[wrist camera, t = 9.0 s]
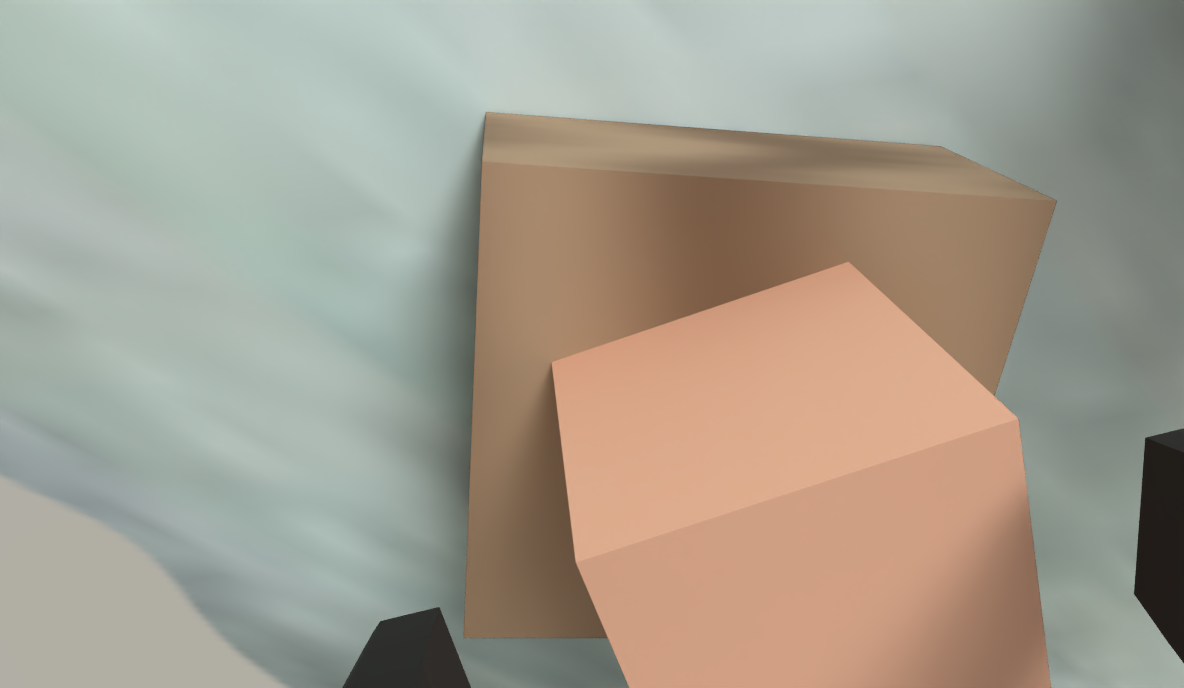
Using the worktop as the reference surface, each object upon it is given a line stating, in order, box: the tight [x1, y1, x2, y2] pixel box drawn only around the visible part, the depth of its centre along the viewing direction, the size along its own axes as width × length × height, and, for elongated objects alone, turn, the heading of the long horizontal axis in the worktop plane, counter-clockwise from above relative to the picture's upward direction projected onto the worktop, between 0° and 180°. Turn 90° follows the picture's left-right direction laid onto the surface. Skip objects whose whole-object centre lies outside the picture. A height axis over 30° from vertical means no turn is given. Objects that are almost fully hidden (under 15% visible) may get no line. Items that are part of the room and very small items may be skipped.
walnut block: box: [464, 112, 1057, 638], centre depth 17 cm, size 9×9×4 cm
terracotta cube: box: [552, 262, 1051, 688], centre depth 13 cm, size 5×5×5 cm
